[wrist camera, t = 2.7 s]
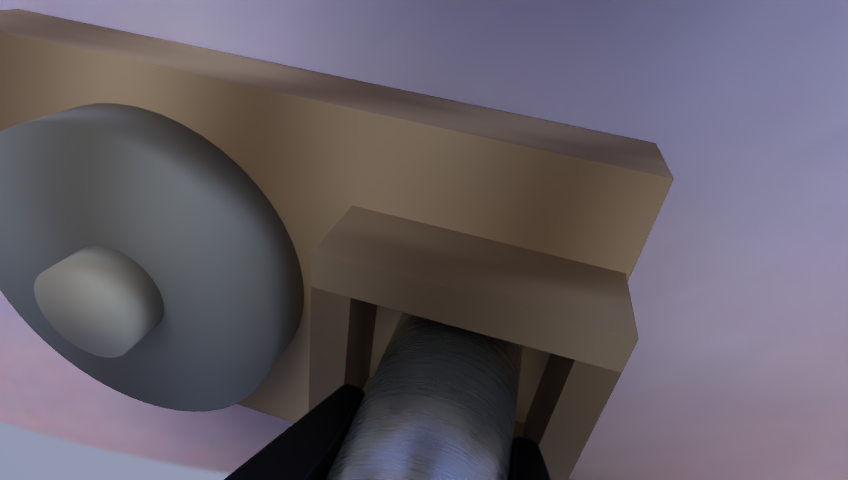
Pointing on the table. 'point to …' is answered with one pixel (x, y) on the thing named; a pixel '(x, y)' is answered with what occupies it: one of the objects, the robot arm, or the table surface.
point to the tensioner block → (304, 227)
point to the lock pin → (435, 408)
